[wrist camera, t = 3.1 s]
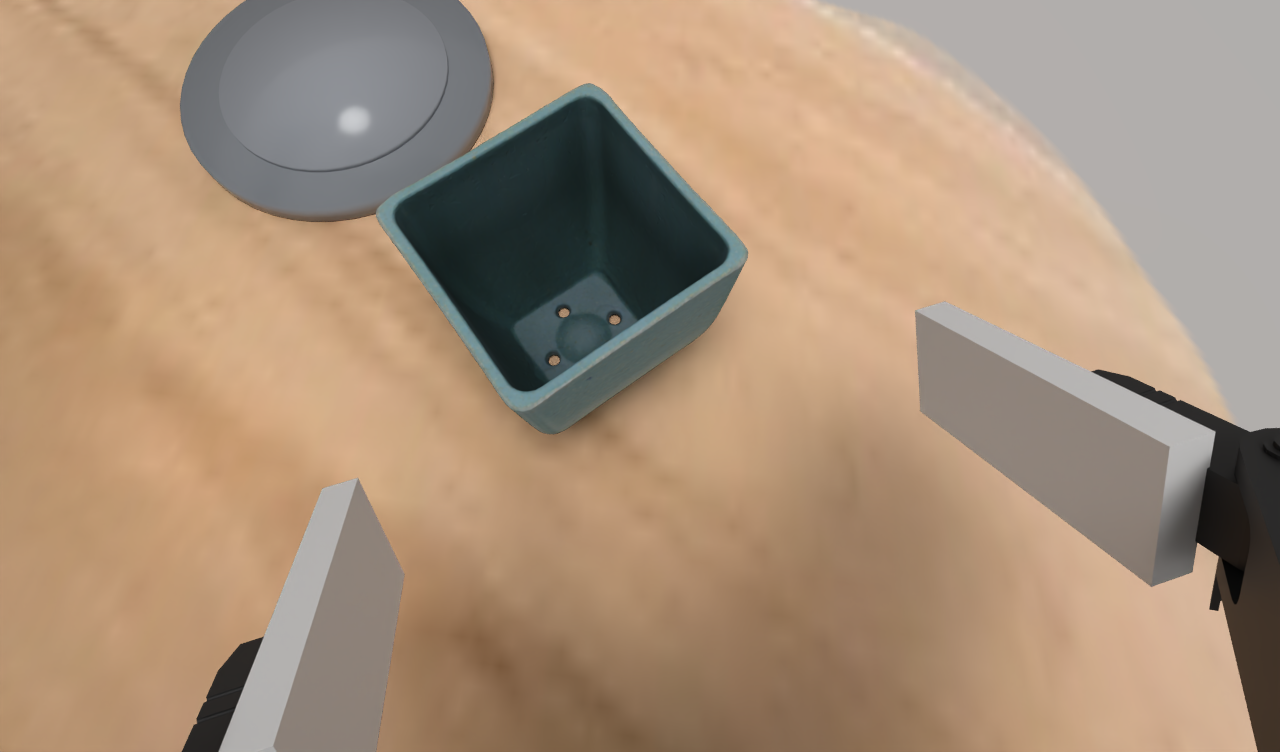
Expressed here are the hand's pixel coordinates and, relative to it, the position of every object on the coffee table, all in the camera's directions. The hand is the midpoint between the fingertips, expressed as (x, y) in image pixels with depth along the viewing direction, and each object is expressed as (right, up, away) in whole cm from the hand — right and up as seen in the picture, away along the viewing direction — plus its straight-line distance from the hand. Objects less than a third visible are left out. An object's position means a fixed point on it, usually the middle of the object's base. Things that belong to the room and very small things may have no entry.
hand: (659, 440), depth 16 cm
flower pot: (-3, +3, +14) cm, 15 cm away
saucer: (-15, +16, +19) cm, 29 cm away
